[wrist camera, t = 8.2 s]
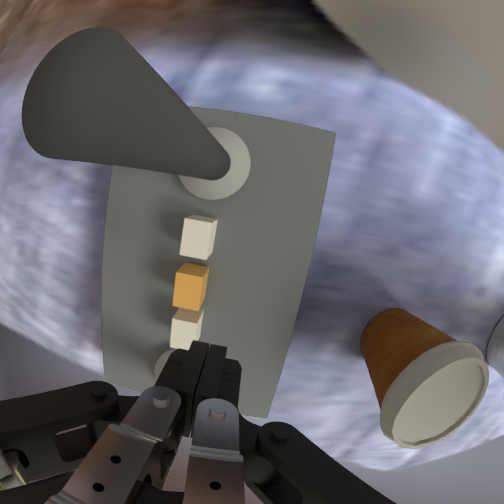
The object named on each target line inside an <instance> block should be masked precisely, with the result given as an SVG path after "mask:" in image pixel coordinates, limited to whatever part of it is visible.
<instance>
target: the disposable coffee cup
mask: <svg viewBox="0 0 504 504" xmlns="http://www.w3.org/2000/svg"><path fill="white" fill-rule="evenodd" d="M361 349H362V352H363V355H364V358H365V362H366V365H367V367H368V371H369V374H370V377H371V380H372V383H373V386H374V389H375V393H376V396H377V399H378V402H379V406H380V410H381V412H380V413H381V414H380V426H381V429H382V431H383V433H384V435H385V436H386V437H387V438H389V439H390V440H392V441H395V442H396V443H397V444H398V445H399V446H401V447H403V448H410V449H418V448H423V447H427V446H429V445H432V444H435V443H437V442H439V441H441V440H443V439H444V438H446V437H448V436H449V435H450V434H452V433H453V432H455V431H456V430H457V429H458V428H460V427H461V426H462V425H463V424H464V423H465V422H466V421H467V420H468V419H469V418H470V416H471V415H472V414H473V413H474V412H475V410H476V409H477V407H478V406H479V404H480V402H481V401H482V399H483V397H484V395H485V392H486V389H487V386H488V381H489V371H488V368H487V365H486V363H485V359H484V356H483V353H482V352H481V350H480V349H479V348H478V347H477V346H475V345H473V344H471V343H466V342H458V341H456V340H455V339H453V338H452V337H450V336H448V335H447V334H445V333H443V332H441V331H439V330H438V329H436V328H435V327H433V326H431V325H429V324H428V323H426V322H424V321H422V320H421V319H419V318H417V317H415V316H414V315H412V314H410V313H408V312H407V311H405V310H403V309H398V308H397V309H388V310H385V311H383V312H381V313H379V314H378V315H376V316H375V317H374V318H373V319H372V320H371V321H370V322H369V323H368V324H367V326H366V328H365V329H364V332H363V334H362V338H361Z"/></svg>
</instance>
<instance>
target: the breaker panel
mask: <svg viewBox="0 0 504 504" xmlns="http://www.w3.org/2000/svg"><path fill="white" fill-rule="evenodd" d="M188 107H189V106H188ZM189 108H190V110H191V111H192V112H193V113H194V114H195V115H196V116H197V118H198V119H199V120H200V121H201V122H202V123H203V124H204V126H205V127H206V128H210V127H220V128H225V129H228V130H230V131H232V132H234V133H235V134H237V135H238V136H239V137H240V138H241V139H242V140H243V141H244V143H245V145H246V146H247V149H248V151H249V155H250V160H251V167H250V172H249V176H248V178H247V180H246V182H245V183H244V185H243V186H242V187H241V188H240V189H239V190H238V191H237V192H236V193H234V194H232V195H231V196H228V197H226V198H222V199H217V200H209V199H203V198H200V197H197V196H195V195H194V194H192V193H191V192H189V191H188V190H187V189H186V188H185V186H184V185H183V184H182V182H181V180H180V178H179V175H176V174H170V173H164V172H158V171H151V170H144V169H137V168H130V167H123V166H115V165H113V166H112V173H111V179H110V186H109V193H108V201H107V209H106V219H105V229H104V242H103V257H102V282H101V325H102V349H103V364H104V376H105V381H107V382H110V383H113V384H116V385H119V386H122V387H125V388H128V389H131V390H135V391H139V392H141V393H142V392H143V391H144V390H145V389H147V388H149V387H153V386H154V385H155V383H156V381H157V380H156V378H155V374H154V368H155V364H156V362H157V360H158V359H159V357H160V355H161V354H162V353H163V352H164V351H165V350H167V349H169V348H176V349H178V348H180V349H185V350H189V348H190V345H191V343H192V341H193V340H196V341H201V342H205V343H210V345H211V344H215V345H220V346H226V347H227V353H226V358H228V359H234V360H238V362H239V363H240V365H241V367H242V373H241V382H240V392H239V402H238V410H239V412H240V414H241V415H246V416H253V417H261V418H267V416H268V413H269V410H270V407H271V404H272V401H273V397H274V394H275V391H276V388H277V384H278V381H279V378H280V374H281V371H282V368H283V364H284V361H285V357H286V354H287V350H288V347H289V343H290V340H291V336H292V332H293V329H294V325H295V321H296V317H297V314H298V310H299V306H300V302H301V298H302V294H303V290H304V286H305V282H306V278H307V274H308V270H309V265H310V261H311V257H312V252H313V248H314V244H315V239H316V235H317V230H318V225H319V221H320V216H321V211H322V206H323V202H324V197H325V192H326V186H327V181H328V176H329V171H330V165H331V160H332V154H333V148H334V143H335V137H336V133H334V132H331V131H327V130H323V129H319V128H314V127H310V126H306V125H302V124H297V123H292V122H288V121H283V120H278V119H273V118H267V117H262V116H256V115H250V114H244V113H238V112H231V111H224V110H216V109H208V108H199V107H189ZM185 263H191V264H196V265H201V266H206V267H209V274H208V280H207V287H206V293H205V299H204V301H203V303H202V305H201V307H200V309H199V311H194V310H190V309H185V308H180V307H176V306H173V296H174V287H175V278H176V272H177V271H178V270H179V269H180V268H181V267H182V266H183V265H184V264H185ZM209 348H210V347H209Z"/></svg>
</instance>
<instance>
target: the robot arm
mask: <svg viewBox="0 0 504 504" xmlns="http://www.w3.org/2000/svg"><path fill="white" fill-rule="evenodd" d="M209 347H210V348H209ZM226 353H227V347H226V346H220V345H215V344H211V345H210V343H205V342H201V341H196V340H193V341H192V343H191V345H190V348H189V350H185V349H180V348H178V349H177V350H175V351H174V352H172V353H171V354H170V356H169V358H168V360H167V362H166V364H165V365H164V367H163V369H162V371H161V373H160V375H159V377H158V379H157V381H156V383H155V385H154V386H153V387H149V388H147V389H145V390H144V391H143V392H142V394H141V395H140V396H121V395H118V392H117V390H116V388H115V387H114V386H112V385H111V384H109V383H107V382H103V381H90V382H86V383H83V384H78V385H74V386H70V387H66V388H62V389H57V390H53V391H48V392H44V393H39V394H34V395H29V396H24V397H19V398H14V399H8V400H3V401H0V504H245V486H244V481H245V483H246V485H247V486H248V487H249V488H250V489H251V490H252V492H253V493H254V494H255V495H256V496H257V497H258V498H259V499H260V500H261V501H262V502H263V503H264V504H396V503H395V502H393V501H391V500H390V499H388V498H387V497H385V496H384V495H382V494H381V493H379V492H378V491H376V490H375V489H374V488H372V487H371V486H369V485H368V484H366V483H365V482H364V481H362V480H361V479H359V478H358V477H357V476H355V475H354V474H353V473H351V472H350V471H348V470H347V469H346V468H344V467H343V466H342V465H340V464H339V463H338V462H337V461H335V460H334V459H333V458H331V457H330V456H329V455H328V454H326V453H325V452H324V451H323V450H321V449H320V448H319V447H318V446H316V445H315V444H314V443H313V442H311V441H310V440H309V439H308V438H307V437H305V436H304V435H303V434H302V433H301V432H299V431H298V430H297V429H296V428H295V427H293V426H292V425H290V424H287V423H284V422H269V423H266V424H264V425H263V426H262V427H261V426H258V425H256V424H253V423H251V422H249V421H247V420H246V419H244V418H243V417H242V416H241V414H240V412H239V410H238V402H239V392H240V382H241V373H242V367H241V365H240V363H239V362H238V360H234V359H228V358H226ZM486 356H487V361H488V364H489V365H490V366H491V367H493V368H494V369H495V370H496V371H497V372H498V373H499V374H500V375H501V376H502V377H503V378H504V316H503V317H502V319H501V320H500V321H499V323H498V324H497V326H496V328H495V329H494V331H493V333H492V336H491V338H490V341H489V344H488V348H487V355H486ZM84 424H86V427H84V428H80V429H77V430H73V431H70V432H66V433H63V434H59V435H56V434H57V433H58V432H60V431H64V430H67V429H71V428H75V427H78V426H81V425H84ZM191 427H192V428H191ZM190 431H191V438H192V445H191V450H190V455H189V462H188V469H187V477H186V485H185V492H171V491H163V490H162V489H163V486H164V483H165V481H166V478H167V476H168V473H169V471H170V469H171V466H172V464H173V462H174V459H175V457H176V454H177V452H178V446H179V444H180V442H181V438H182V436H185V437H189V435H190ZM76 468H77V470H75V471H70V470H73V469H76ZM67 471H69V472H67ZM63 472H65V473H63ZM60 473H62V474H60ZM56 474H59V475H56ZM53 475H56V476H53ZM49 476H53V477H50V478H46V479H43V480H40V481H36V482H33V483H29V481H33V480H37V479H41V478H45V477H49Z"/></svg>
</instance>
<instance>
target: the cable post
mask: <svg viewBox="0 0 504 504" xmlns="http://www.w3.org/2000/svg"><path fill="white" fill-rule="evenodd" d="M22 125H23V130H24V134H25V137H26V139H27V141H28V143H29V144H30V146H31V147H32V148H33V149H34V150H35V151H36V152H37V153H39V154H40V155H42V156H44V157H47V158H52V159H62V160H72V161H82V162H91V163H99V164H107V165H115V166H123V167H130V168H137V169H144V170H151V171H158V172H164V173H170V174H176V175H179V178H180V180H181V182H182V184H183V185H184V186H185V188H186V189H187V190H188V191H189V192H191V193H192V194H194V195H195V196H197V197H200V198H203V199H209V200H217V199H222V198H226V197H228V196H231V195H232V194H234V193H236V192H237V191H238V190H239V189H240V188H241V187H242V186H243V185H244V183H245V182H246V180H247V178H248V176H249V172H250V167H251V160H250V155H249V151H248V149H247V146H246V145H245V143H244V141H243V140H242V139H241V138H240V137H239V136H238V135H237V134H235V133H234V132H232V131H230V130H228V129H225V128H220V127H210V128H206V127H205V126H204V124H203V123H202V122H201V121H200V120H199V119H198V118H197V116H196V115H195V114H194V113H193V112H192V111H191V110H190V108H189V107H188V106H187V105H186V104H185V103H184V102H183V101H182V99H181V98H180V97H179V96H178V95H177V94H176V93H175V92H174V91H173V89H172V88H171V87H170V86H169V85H168V84H167V83H166V82H165V81H164V80H163V78H162V77H161V76H160V75H159V74H158V73H157V72H156V71H155V70H154V69H153V68H152V67H151V66H150V64H149V63H148V62H147V61H146V60H145V59H144V58H143V57H142V56H141V55H140V54H139V53H138V52H137V51H136V50H135V49H134V48H133V47H132V45H131V44H130V43H129V42H128V41H127V40H126V39H125V38H124V37H123V36H122V35H121V34H119V33H118V32H116V31H114V30H112V29H108V28H100V27H97V28H89V29H85V30H82V31H79V32H76V33H74V34H72V35H70V36H69V37H67V38H65V39H64V40H62V41H61V42H60V43H58V44H57V45H56V46H55V47H54V48H53V49H52V50H51V51H50V52H49V53H48V54H47V55H46V56H45V57H44V58H43V60H42V61H41V62H40V64H39V65H38V67H37V68H36V70H35V71H34V73H33V75H32V77H31V79H30V81H29V84H28V86H27V89H26V92H25V96H24V100H23V106H22Z"/></svg>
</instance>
